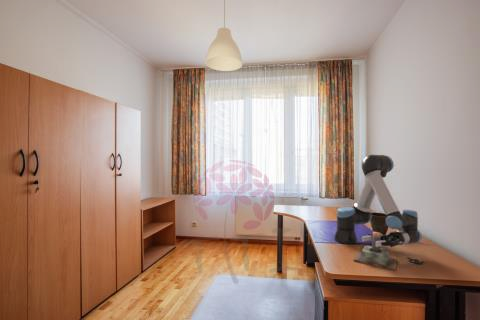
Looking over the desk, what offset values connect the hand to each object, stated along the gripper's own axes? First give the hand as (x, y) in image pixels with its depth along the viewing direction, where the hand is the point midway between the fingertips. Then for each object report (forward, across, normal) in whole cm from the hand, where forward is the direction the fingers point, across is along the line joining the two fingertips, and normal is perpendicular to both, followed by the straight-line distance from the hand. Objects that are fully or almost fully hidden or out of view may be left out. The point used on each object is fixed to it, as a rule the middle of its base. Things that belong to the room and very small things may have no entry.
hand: (369, 241), depth 137 cm
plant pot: (-51, +38, -12) cm, 65 cm away
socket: (-5, 0, -12) cm, 12 cm away
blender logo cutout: (-27, -5, -12) cm, 30 cm away
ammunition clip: (-61, +24, -12) cm, 67 cm away
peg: (-5, 0, -10) cm, 11 cm away
